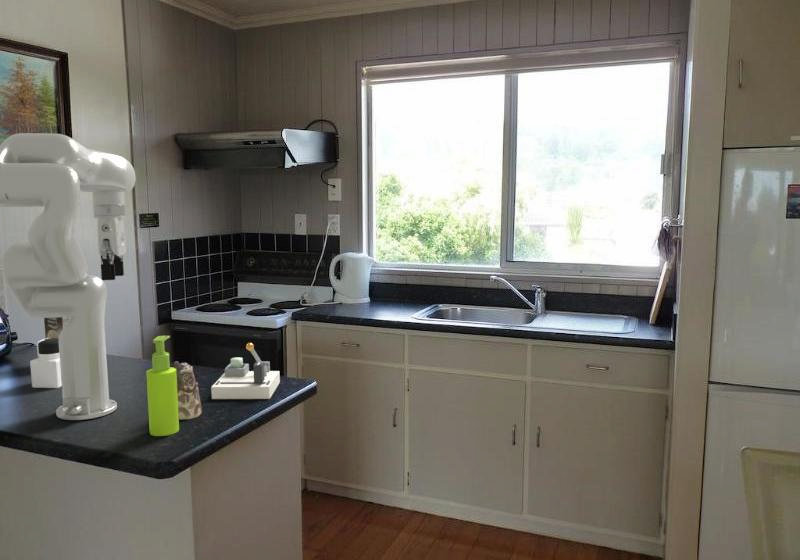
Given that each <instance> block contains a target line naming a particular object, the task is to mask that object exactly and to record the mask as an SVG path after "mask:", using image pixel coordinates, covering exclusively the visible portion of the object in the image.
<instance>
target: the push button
mask: <svg viewBox="0 0 800 560" xmlns="http://www.w3.org/2000/svg"><path fill="white" fill-rule="evenodd" d="M243 359H244V358H243V357H239V356H238V357H232V358H230V364H231V368H243V364H244V360H243Z"/></svg>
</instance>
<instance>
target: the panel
mask: <svg viewBox="0 0 800 560" xmlns="http://www.w3.org/2000/svg"><path fill="white" fill-rule="evenodd" d="M263 362H264V365H267V366H268V370H267V366H264V378H265V380H264V381H263V383H254V370H251V371H250V364H249V363H243V368H231V363H229V364H227V366H226V367H225V368H224V373H223V374H221V376H220V377H219V378H218V380H216V382H215V383H213V384H212V385H211V388H210V389H211V390H210V391H211V400H270V399H271V397H272V396H273V394H274V392H275V391H276V390H277V388H278V386H279V384H280V383H281V378H280V377H281V376H280V370H271V365H270V364H271V363H270V361H263Z"/></svg>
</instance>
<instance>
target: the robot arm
mask: <svg viewBox="0 0 800 560" xmlns="http://www.w3.org/2000/svg"><path fill="white" fill-rule="evenodd" d="M136 181H137V180H136V172H135V168H134V167H133V165H132V163H131V162H130V161H129V160H127V159H126V158H124V156H120V155H117V154H113V153H109V152H105V151H101V150H97V149H92V148H89V147H88V148H87V147H85V146H84V145H82V144H81V143H79V142H78V141H77V140H75V139H73V138H72V137H70V136H68V135H66V134H62V133H40V132H39V133H32V132H31V133H30V132H29V133H15V134H12V135H10V136H8V137H7V138H6V139H5V140H4V141H3V142H2V143H1V144H0V208H1V207H2V208H14V207H16V208H24V207H25V208H26V207H27V208H31V207H32V208H37V207H38V208H39V207H41V208H42V207H43V208H44V209H43V211H42V212H41V213H40V214H39V215H38V216H37V217H36V218H35V219H34V221H32V223H31V225H30V226H29V228H28V231H27V235H26V236H27V240H28V241H21V242H20V241H19V242H15V243H12V244H10V245H9V246H8V247H6V249H5V250H4V251H3V253H2V256H1V272H2V276H3V279H4V281H5V283H6V286H7V287H8V289H9V290H10V292H11V294H12V296H13V297H14V299H15V300H16V302H17V304H18V306H19V307H20V309H21V311H22V312H23V314H24V313H25V315H26V316H28V317H31V318H34V319H35V318H37V319H38V318H39V319H41V318H42V319H44V318H55V317H63V318H69V319H70V320H69V322H68V324H67V325H66V326H65V327H64V329H63V330H62V331H61V333H60V336H59V354H60V368H61V381H62V386H61V391H62V393H61V394H62V405H60V406H59V407H57V408H56V410H55V415H56V417H57V418H58V419H61V420H67V421H83V420H91V419H96V418H99V417H104V416H107V415H109V414H111V413H113V412H114V411H116V410H117V408H118V403H117V401H116V400H113V399H110V391H109V390H110V389H109V378H108V377H109V376H108V374H109V373H108V363H107V362H108V361H107V346H106V345H107V344H106V329H105V328H106V327H105V323H106V321H105V317H106V305H107V299H108V298H107V297H108V296H107V295H108V291H107V286H106V283H105V282H104V281H115V280H116V277H123V276H125V272H124V271H125V268H124V257H123V255H125V254H126V253H127V243H126V242H127V241H126V233H125V227H124V226H125V225H124V218H126V206H125V205H126V204H125V203H126V202H125V193H127V192H131V191H132V190H133V188H134V187H135V184H136ZM81 192H84V193H91V194H92V209H93V219H97V245H98V248H97V249H98V253H99V255H100V273H101V274H100V275H101V276H100V277H99V276H97V275H94V274H88V270H89V266H88V262H87V258H86V255H85V253H84V251H83V248H82V246H81V244H80V241H79V239H78V236H77V233H76V230H75V224H76V219H77V214H78V211H79V209H78V208H79V204H80V194H81Z"/></svg>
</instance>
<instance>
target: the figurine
mask: <svg viewBox="0 0 800 560" xmlns="http://www.w3.org/2000/svg"><path fill="white" fill-rule="evenodd" d="M173 366H174V368H175V369H176V375H177V395H178V415H179V420H191V419H194V418H195V419H196V418H198V417H199V416H201V414H202V413H203V410H202V404H201V403H202V402H201V397H200V390H199V386H198V385H199V383H198V381H196V377H195V374H194V368H193V366H192V365H191V364H189V363H187V362H181V363H180V362H179V361H178V360H177V361H174V363H173Z"/></svg>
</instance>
